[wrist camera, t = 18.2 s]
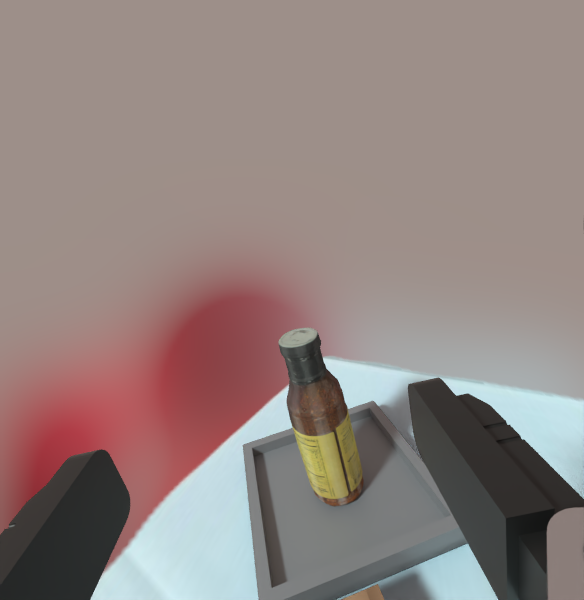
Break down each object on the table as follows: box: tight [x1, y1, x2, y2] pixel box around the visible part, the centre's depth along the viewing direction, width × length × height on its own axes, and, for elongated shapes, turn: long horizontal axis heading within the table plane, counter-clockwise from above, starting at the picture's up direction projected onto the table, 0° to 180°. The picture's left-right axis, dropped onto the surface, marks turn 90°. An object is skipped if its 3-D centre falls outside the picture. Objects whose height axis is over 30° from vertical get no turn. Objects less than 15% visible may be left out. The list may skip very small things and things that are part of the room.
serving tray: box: [243, 401, 468, 600], centre depth 38 cm, size 20×20×2 cm
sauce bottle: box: [279, 328, 364, 507], centre depth 35 cm, size 7×6×20 cm
